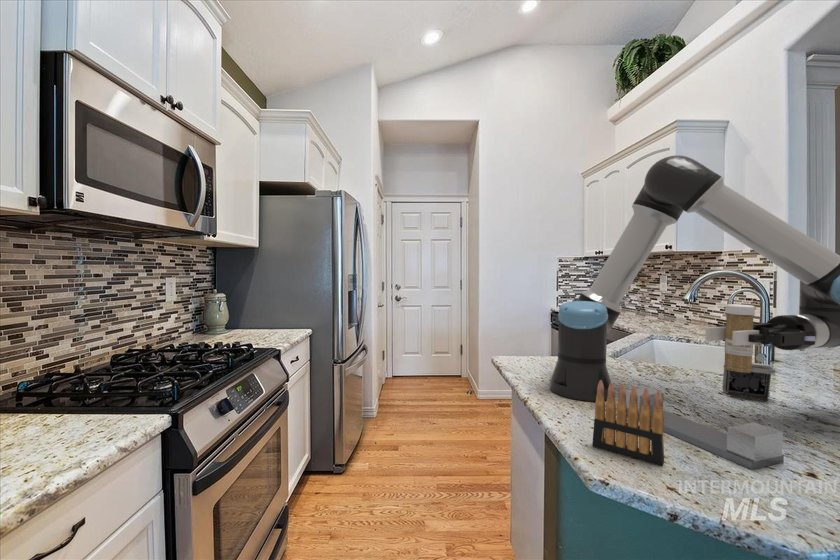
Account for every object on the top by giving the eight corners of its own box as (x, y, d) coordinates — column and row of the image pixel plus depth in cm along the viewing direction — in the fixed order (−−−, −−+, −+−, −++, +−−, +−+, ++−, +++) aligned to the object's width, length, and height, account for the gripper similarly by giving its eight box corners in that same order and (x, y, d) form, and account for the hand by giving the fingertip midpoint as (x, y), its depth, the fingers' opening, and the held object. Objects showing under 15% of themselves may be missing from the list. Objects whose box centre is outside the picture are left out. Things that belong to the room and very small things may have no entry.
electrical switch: (768, 398, 96) (770, 363, 95) (773, 405, 92) (775, 369, 91) (721, 391, 101) (723, 358, 100) (724, 398, 97) (725, 363, 96)
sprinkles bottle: (728, 371, 76) (730, 305, 75) (720, 366, 80) (722, 303, 80) (757, 374, 74) (759, 306, 74) (747, 369, 78) (749, 304, 78)
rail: (621, 413, 84) (622, 390, 83) (648, 409, 86) (648, 387, 86) (752, 469, 60) (753, 437, 60) (783, 462, 63) (784, 431, 62)
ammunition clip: (592, 446, 67) (593, 380, 67) (594, 443, 69) (596, 377, 68) (662, 466, 61) (665, 392, 60) (664, 462, 62) (666, 390, 62)
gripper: (849, 357, 74) (772, 365, 67) (748, 342, 91) (677, 346, 83) (851, 320, 74) (773, 323, 67) (749, 311, 91) (678, 312, 83)
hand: (720, 336), depth 75 cm, fingers closed on sprinkles bottle, 4 cm apart
